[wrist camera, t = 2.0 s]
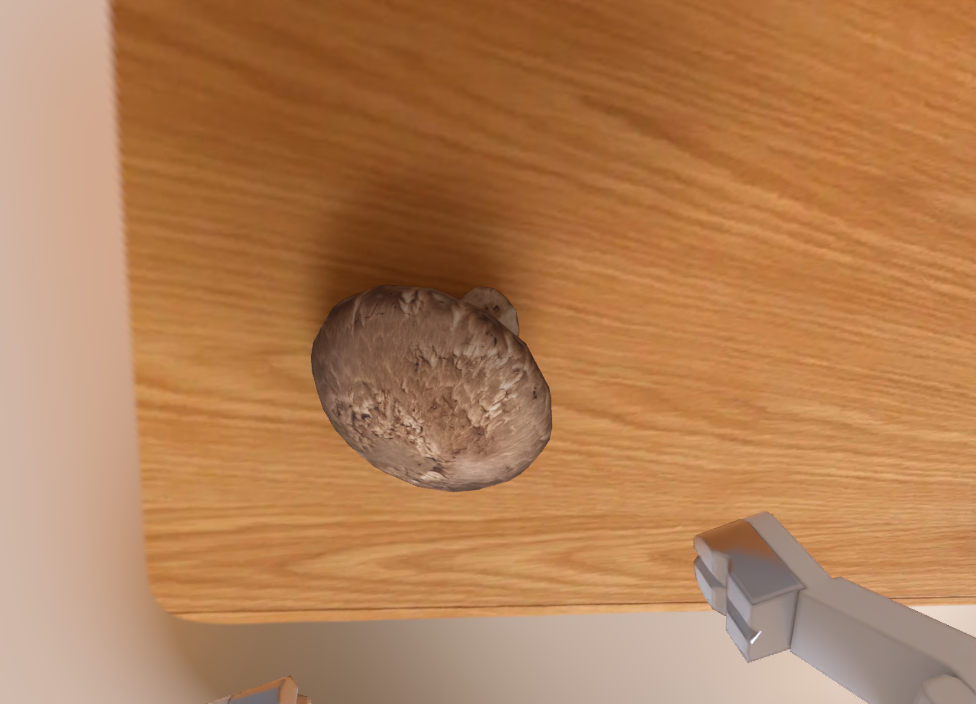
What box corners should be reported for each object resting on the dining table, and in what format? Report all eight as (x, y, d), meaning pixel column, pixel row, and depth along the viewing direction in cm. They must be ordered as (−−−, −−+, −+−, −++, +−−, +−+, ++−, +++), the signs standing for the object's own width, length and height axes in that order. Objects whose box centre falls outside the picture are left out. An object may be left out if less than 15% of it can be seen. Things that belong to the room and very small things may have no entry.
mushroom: (597, 253, 15) (549, 430, 12) (561, 400, 22) (522, 547, 18) (350, 198, 17) (235, 342, 13) (383, 352, 23) (312, 479, 19)
